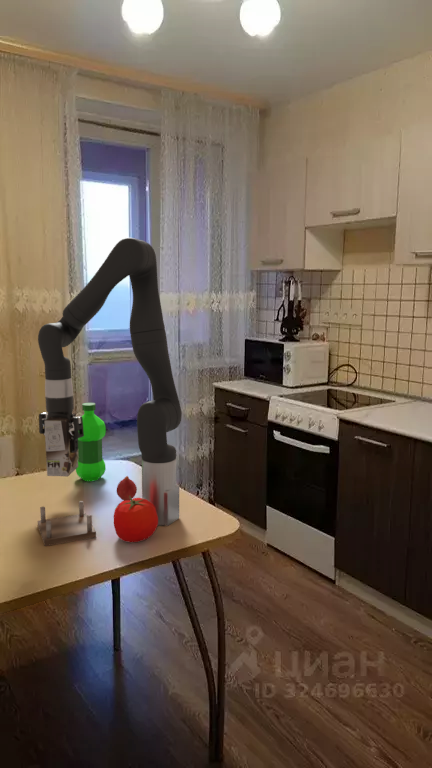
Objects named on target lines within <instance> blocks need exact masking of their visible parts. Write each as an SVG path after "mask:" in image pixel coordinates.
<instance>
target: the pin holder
mask: <svg viewBox="0 0 432 768" xmlns="http://www.w3.org/2000/svg"><path fill="white" fill-rule="evenodd" d="M84 507H85V506H84V501H83V500H79V501H78V512H79V513H78V514H73V515H66V516H65V515H64V516H60V517H52V518H46V506H41V507H40V520H37V528H38V531H39V533H40V536H41V539H42V542H43V545H44V547H46V546H47V547H48V546H52V545H59V544H65V543H66V544H67V543H70V542H76V541H82V540H83V541H84V540H87V539H94V538H97V531H96V529H95V527H94V526H93V517H92V516H93V515H92V514H86V513H85V509H84Z"/></svg>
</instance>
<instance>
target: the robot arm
mask: <svg viewBox="0 0 432 768" xmlns="http://www.w3.org/2000/svg"><path fill="white" fill-rule="evenodd" d="M157 265H158V264H157V256H156V251H155V250H154V247H153V246H152V245H151V244H150V243H149V242H147V241H145V240H143V239H139V238H135V237H125V238H122V239H121V240H119V241H118V242H117V243H116V244H115V245H114V247H113V248H112V250H111V251H110V252H109V254H108V255H107V257H106V258H105V259H104V262H103V263H102V264H101V266H100V267H99V268H98V270H97V271H96V273H94V275H93V277H92V278H91V279H90V281H89V282H88V283H86V285H85V286H84V287H83V288H82V289H81V290H80V291H79V292H78V293H77V294H76V295H75V297H74V298H73V299H72V300H71V301H70V302H69V303H68V304H67V305H66V306H65V308H64V309H63V310H62V317H61V318H60V319H59V320H58V321H57V322H49V323H46V324H44V325H42V326H41V327H40V328H39V331H38V335H37V343H38V348H39V351H40V353H41V358H42V361H43V363H44V375H45V377H44V378H45V381H44V382H45V383H44V395H45V397H44V398H45V410H46V411H44V412H41V413H39V414H38V430H39V431H38V432H39V434H40V435H42V434H43V435H44V437H45V423H44V420H46V419H48V418H49V417H60V418H67V419H69V423H70V422H71V424H72V428H71V429H70V430H69V438H70V452H71V453H75V452H78V438H81V437H83V436H84V431H83V419H82V416H83V415H79V416H76V417H74V416H73V414H74V413H73V411H74V409H75V408H74V404H75V403H74V388H73V382H72V381H73V380H72V365H71V361H70V358H68V357H66V356H65V355H64V351H63V350H64V349H63V348H65V347H67V346H69V345H71V344H73V342H74V341H75V340H76V339H77V338H78V336H79V334H80V333H81V332H82V330H83V328H84V326H86V325H87V324H88V323H89V322H90V321H91V320H92V319H93V318H94V317H95V316H96V315H97V314H98V313H99V312H100V311H101V309H102V308H103V307H104V305H105V303H106V301H107V299H108V297H109V296H110V294H111V292H112V291H113V290H114V288H115V287H116V286H117V285H118V284H119V283H120V282H122V281H123V280H124V279H126V278H127V277H129V280H130V285H131V290H132V304H131V305H132V306H131V310H130V311H131V312H130V318H129V333H130V340H131V347H132V350H133V355H134V356H135V359H136V360H137V362H138V363H139V365H140V367H141V368H142V370H143V371H144V372H145V374H146V375H147V378H148V379H149V382H150V386H151V390H152V398H153V400H149V401H146V402H144V403H141V405H140V407H139V408H138V411H137V416H136V427H137V428H136V429H137V442H138V443H137V445H138V448H139V451H140V453H141V454H140V455H141V497H142V499H146V500H148V501H149V502H151V503H152V504H153V505H154V506H155V508H156V513H157V516H158V525H157V526H167V527H168V526H170V525H171V524H173V523H174V522H176V521H177V520H178V519H180V485H179V484H177V449H176V447H175V446H174V445H173V444H172V445H171V444H169V443H168V439H167V437H168V435H167V433H168V432H171V431H173V430H175V429H177V428H178V427H179V426H180V424H181V422H182V407H181V403H180V400H179V395H178V392H177V389H176V388H177V387H176V384H175V380H174V376H173V372H172V371H173V370H172V364H171V360H170V353H169V347H168V339H167V333H166V327H165V322H164V316H163V315H164V314H163V309H162V305H161V298H160V293H159V282H158V268H157V267H158V266H157ZM72 422H73V423H72ZM73 424H74V425H73ZM71 432H72V433H71ZM72 434H73V435H72Z"/></svg>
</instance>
